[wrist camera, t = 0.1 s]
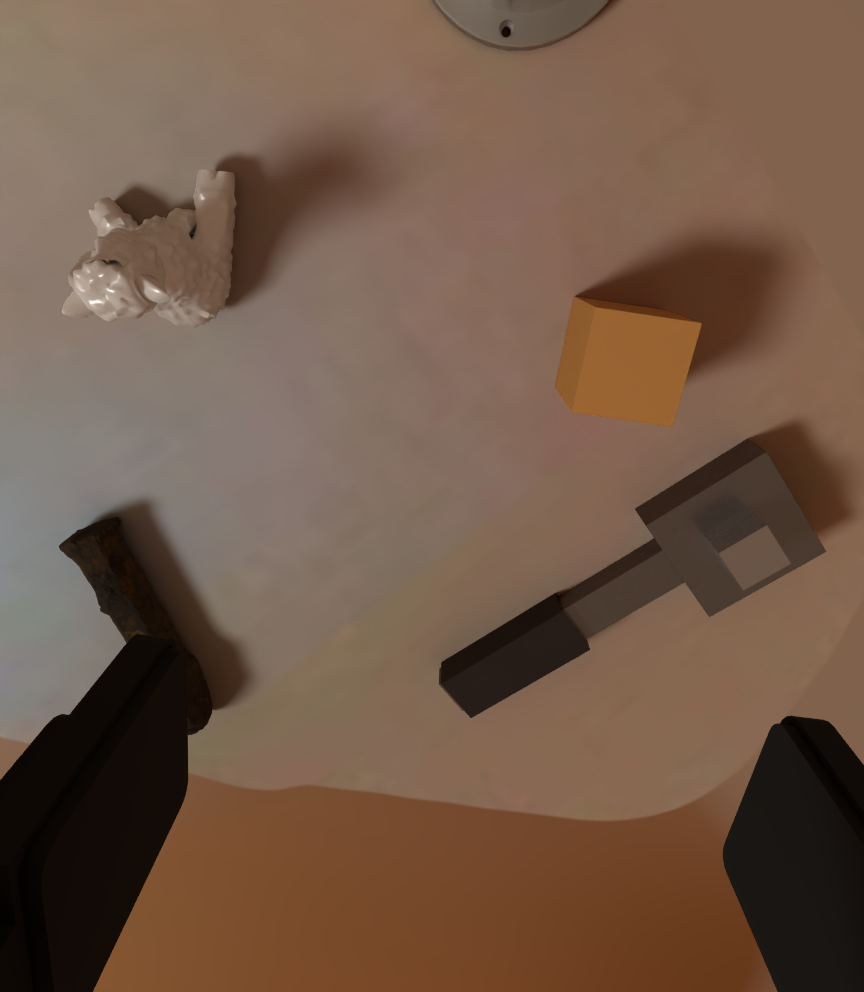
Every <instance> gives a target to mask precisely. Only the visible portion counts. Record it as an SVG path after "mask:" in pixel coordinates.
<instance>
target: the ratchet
mask: <svg viewBox="0 0 864 992" xmlns="http://www.w3.org/2000/svg"><path fill="white" fill-rule="evenodd" d="M635 510H636V511H637V513H638V515H639V516H640V518H641V519H642V521H643V522H644V524H645V525H646V527H647V528H648V529H649V531H650V532H651V534H652V535H653V537H654V539H653V540H651V541H649V542H648V543H646V544H644V545H643V546H641V547H639V548H638V549H636V550H635V551H633V552H631V553H630V554H628V555H626V556H625V557H623V558H621V559H620V560H618V561H616V562H615V563H613V564H611V565H610V566H608V567H606V568H605V569H603V570H602V571H600V572H598V573H597V574H595V575H593V576H592V577H590V578H588V579H587V580H585V581H583V582H582V583H580V584H578V585H577V586H575V587H574V588H572V589H570V590H569V591H567V592H565V593H564V594H562V595H560V596H559V597H558V596H557V594H556V593H555V594H553V595H551V596H550V597H548V598H547V599H545V600H543V601H542V602H540V603H538V604H537V605H535V606H533V607H532V608H530V609H528V610H527V611H525V612H524V613H522V614H520V615H519V616H517V617H515V618H514V619H512V620H510V621H509V622H507V623H505V624H504V625H502V626H501V627H499V628H497V629H496V630H494V631H492V632H491V633H489V634H487V635H486V636H484V637H482V638H481V639H479V640H478V641H476V642H474V643H473V644H471V645H469V646H468V647H466V648H464V649H463V650H461V651H460V652H458V653H456V654H455V655H453V656H451V657H450V658H448V659H446V660H445V661H443V662H441V668H440V669H439V685H440V686H441V687H442V688H443V689H444V691H445V692H446V693H447V694H448V695H449V696H450V697H451V698H452V700H453V701H454V702H455V703H456V704H457V705H458V706H459V707H460V709H461V710H462V711H465V712H466V713H467V714H468V715H469V717H470V718H472V717H474V716H476V715H477V714H479V713H481V712H483V711H484V710H486V709H488V708H490V707H491V706H493V705H495V704H497V703H498V702H500V701H502V700H503V699H505V698H507V697H509V696H510V695H512V694H514V693H516V692H517V691H519V690H521V689H523V688H524V687H526V686H528V685H530V684H531V683H533V682H535V681H536V680H538V679H540V678H542V677H543V676H545V675H547V674H549V673H550V672H552V671H554V670H556V669H557V668H559V667H561V666H563V665H564V664H566V663H568V662H570V661H571V660H573V659H575V658H576V657H578V656H580V655H582V654H583V653H585V652H587V651H589V650H590V648H589V645H588V642H587V639H588V638H589V637H591V636H593V635H595V634H596V633H598V632H600V631H601V630H603V629H605V628H607V627H608V626H610V625H612V624H614V623H615V622H617V621H619V620H620V619H622V618H624V617H626V616H627V615H629V614H631V613H632V612H634V611H636V610H638V609H639V608H641V607H643V606H645V605H646V604H648V603H650V602H651V601H653V600H655V599H657V598H658V597H660V596H662V595H663V594H665V593H667V592H669V591H670V590H672V589H674V588H676V587H677V586H679V585H681V584H682V583H684V582H685V583H686V584H687V586H688V587H689V589H690V590H691V591H692V593H693V594H694V596H695V597H696V599H697V600H698V602H699V603H700V604H701V606H702V607H703V609H704V610H705V612H706V613H707V615H708V616H709V617H710V616H712V615H714V614H716V613H718V612H719V611H721V610H723V609H725V608H727V607H728V606H730V605H732V604H734V603H735V602H737V601H739V600H741V599H743V598H744V597H746V596H748V595H750V594H751V593H753V592H755V591H757V590H759V589H760V588H762V587H764V586H766V585H768V584H769V583H771V582H773V581H775V580H776V579H778V578H780V577H782V576H784V575H785V574H787V573H789V572H791V571H793V570H794V569H796V568H798V567H800V566H801V565H803V564H805V563H807V562H809V561H810V560H812V559H814V558H816V557H818V556H819V555H821V554H823V553H825V552H826V550H825V549H824V547H823V545H822V544H821V542H820V540H819V539H818V537H817V535H816V534H815V532H814V530H813V529H812V527H811V525H810V524H809V522H808V520H807V519H806V517H805V515H804V514H803V512H802V510H801V509H800V507H799V505H798V504H797V502H796V500H795V499H794V497H793V495H792V494H791V492H790V490H789V489H788V487H787V485H786V484H785V482H784V480H783V479H782V477H781V475H780V474H779V472H778V470H777V469H776V467H775V465H774V464H773V462H772V460H771V459H770V457H769V455H768V454H767V452H766V451H764V450H763V449H762V448H760V447H759V446H757V445H756V444H754V443H753V442H752V441H750V440H749V439H746V440H745V441H743V442H742V443H740V444H738V445H737V446H735V447H734V448H732V449H730V450H729V451H727V452H726V453H724V454H722V455H721V456H719V457H718V458H716V459H714V460H713V461H711V462H710V463H708V464H706V465H705V466H703V467H701V468H700V469H698V470H697V471H695V472H693V473H692V474H690V475H689V476H687V477H685V478H684V479H682V480H681V481H679V482H677V483H676V484H674V485H673V486H671V487H669V488H668V489H666V490H665V491H663V492H661V493H660V494H658V495H657V496H655V497H653V498H652V499H650V500H649V501H647V502H645V503H644V504H642V505H641V506H639V507H637V508H636V509H635Z"/></svg>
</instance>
